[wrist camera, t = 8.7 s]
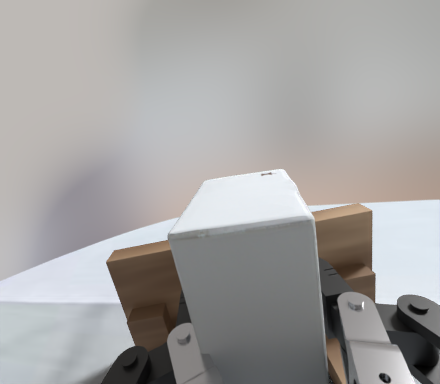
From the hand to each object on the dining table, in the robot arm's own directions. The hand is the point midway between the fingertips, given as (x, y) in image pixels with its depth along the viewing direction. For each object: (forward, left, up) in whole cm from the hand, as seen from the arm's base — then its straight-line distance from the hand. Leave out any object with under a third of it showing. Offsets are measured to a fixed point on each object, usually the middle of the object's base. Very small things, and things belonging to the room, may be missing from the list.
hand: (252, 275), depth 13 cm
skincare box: (+1, -3, -6) cm, 7 cm away
